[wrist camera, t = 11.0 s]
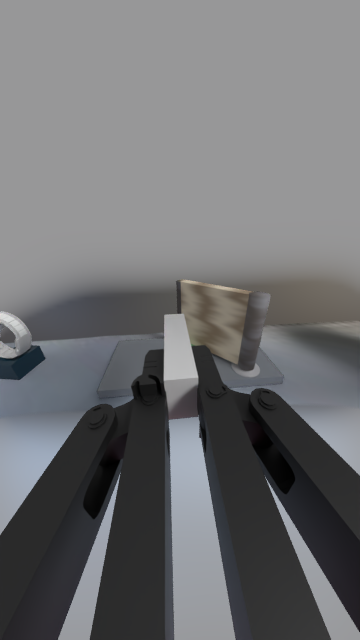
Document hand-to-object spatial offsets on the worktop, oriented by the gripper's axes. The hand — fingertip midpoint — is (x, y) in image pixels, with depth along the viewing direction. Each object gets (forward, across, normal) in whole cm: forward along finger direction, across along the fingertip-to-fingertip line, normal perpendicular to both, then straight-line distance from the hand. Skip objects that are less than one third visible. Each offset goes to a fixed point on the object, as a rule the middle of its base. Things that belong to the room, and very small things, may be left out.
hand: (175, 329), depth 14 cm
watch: (+14, -29, -14) cm, 35 cm away
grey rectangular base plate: (+13, +2, -15) cm, 19 cm away
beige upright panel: (+13, +7, -13) cm, 19 cm away
